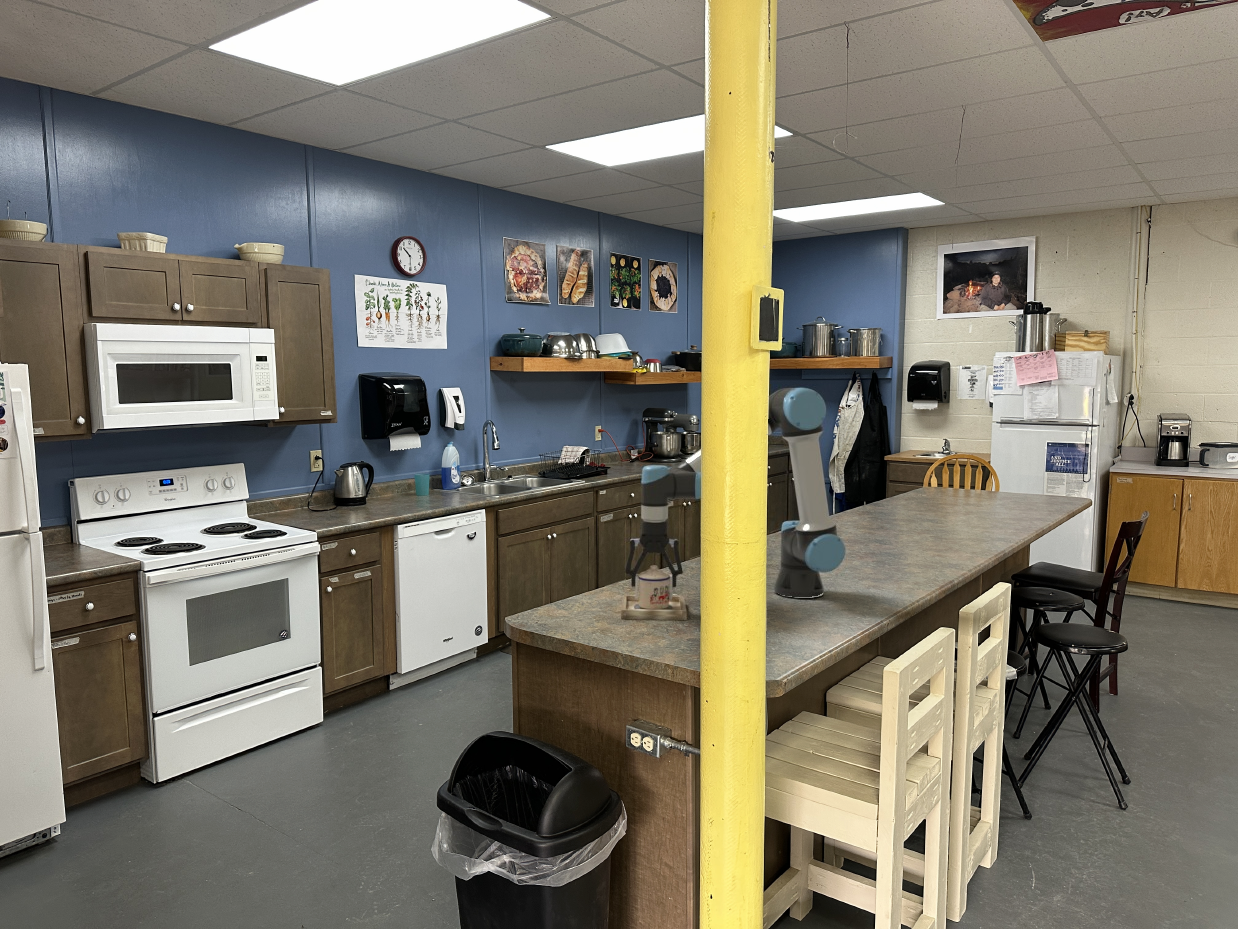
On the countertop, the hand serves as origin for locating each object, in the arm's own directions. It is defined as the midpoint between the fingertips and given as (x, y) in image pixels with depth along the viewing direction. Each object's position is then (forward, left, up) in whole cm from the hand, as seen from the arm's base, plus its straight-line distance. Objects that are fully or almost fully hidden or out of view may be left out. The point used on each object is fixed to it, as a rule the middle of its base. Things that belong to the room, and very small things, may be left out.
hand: (653, 597), depth 236 cm
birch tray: (0, 0, -4) cm, 4 cm away
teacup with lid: (-1, 0, -2) cm, 3 cm away
